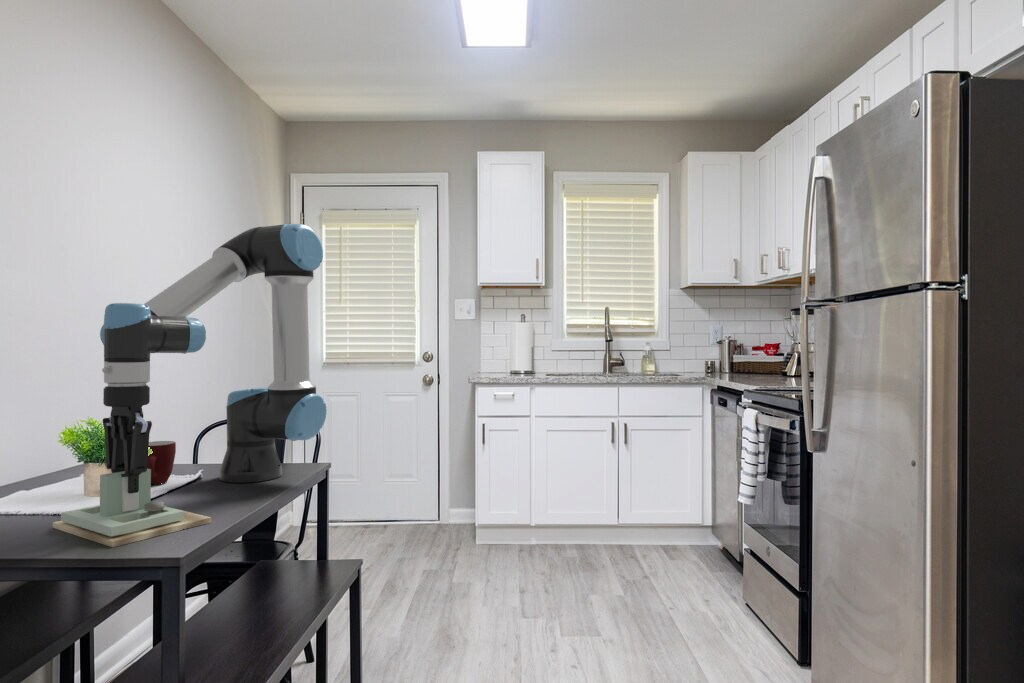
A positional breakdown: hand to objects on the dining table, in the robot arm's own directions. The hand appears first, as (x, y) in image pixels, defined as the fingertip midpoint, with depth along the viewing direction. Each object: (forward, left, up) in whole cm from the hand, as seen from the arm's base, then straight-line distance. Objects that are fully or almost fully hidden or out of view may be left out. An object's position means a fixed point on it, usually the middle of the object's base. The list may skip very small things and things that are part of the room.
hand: (126, 508), depth 121 cm
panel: (+1, 0, -2) cm, 2 cm away
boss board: (-1, 0, -3) cm, 4 cm away
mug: (-23, -32, -4) cm, 40 cm away
